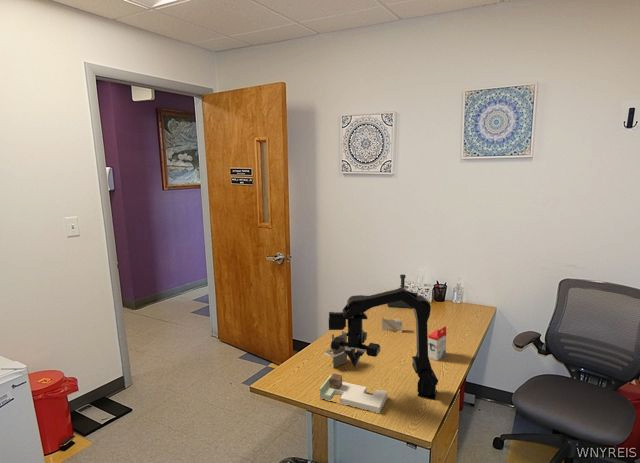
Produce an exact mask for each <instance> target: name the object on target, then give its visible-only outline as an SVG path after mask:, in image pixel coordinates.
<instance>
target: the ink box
mask: <svg viewBox="0 0 640 463" xmlns="http://www.w3.org/2000/svg"><path fill="white" fill-rule="evenodd" d="M446 349H447V325H445V326H443V327H442V328H440V329H436V330H434V331H432V332H431V333H429V334H428V357H429V360H430V359H431V360H433V361H439V360H441V359H442V358H444V357H445V356H446V353H447V352H446V351H447V350H446Z"/></svg>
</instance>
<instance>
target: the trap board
mask: <svg viewBox="0 0 640 463" xmlns="http://www.w3.org/2000/svg"><path fill="white" fill-rule="evenodd" d="M331 375H332V374H330V375H329V376H328V377H327V379H325V381H324V382H323V384H321V386H320V388H319V399H320V398H323V399H327V400H331V399H332V398H333V396H334V395H340V396H341V397H340V403H343V404H347V405H351V406H355V407H358V408H362V409H365V410H364V411H366V410H370V411H373V412H372V413H374V412H376V413H375V414H378V413H381V412H382V410H383V408H384V405H385V403H386V401H387V399H388V391H387V390H382V389H377V388H376V389H375V390H374V392H373V393H371V392H367V386H364V385H358V384H354V383H349V382H346V381H342V386H341V387H340V389H339V390H338V389H333V388H330V385H329V378H330V377H331ZM382 407H383V408H382ZM358 408H357V409H358ZM362 409H361V410H362ZM381 409H382V410H381ZM370 411H369V412H370ZM380 411H381V412H380Z"/></svg>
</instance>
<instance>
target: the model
mask: <svg viewBox="0 0 640 463" xmlns="http://www.w3.org/2000/svg"><path fill="white" fill-rule="evenodd" d="M396 330H397V331H396ZM381 331H394V332H396V333H398V331H400V332H401V333H403V320H402V318H394V319H393V318H381Z"/></svg>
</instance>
